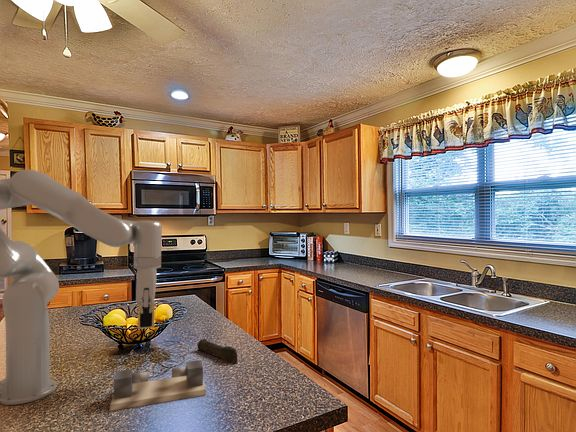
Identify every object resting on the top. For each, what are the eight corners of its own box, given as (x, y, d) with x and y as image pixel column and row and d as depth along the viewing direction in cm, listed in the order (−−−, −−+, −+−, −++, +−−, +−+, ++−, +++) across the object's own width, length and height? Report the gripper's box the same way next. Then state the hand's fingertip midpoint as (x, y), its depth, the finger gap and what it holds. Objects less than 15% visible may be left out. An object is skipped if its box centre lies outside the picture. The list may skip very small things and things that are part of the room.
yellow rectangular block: (137, 329, 101) (138, 304, 101) (138, 325, 105) (139, 301, 105) (154, 327, 103) (154, 303, 103) (154, 323, 107) (154, 300, 107)
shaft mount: (110, 410, 86) (110, 384, 86) (115, 391, 96) (115, 367, 96) (205, 394, 94) (205, 370, 94) (201, 378, 104) (201, 356, 104)
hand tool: (196, 351, 125) (196, 338, 125) (206, 348, 128) (206, 335, 128) (230, 367, 112) (230, 352, 112) (240, 363, 115) (239, 349, 115)
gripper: (135, 259, 111) (134, 317, 111) (131, 266, 95) (130, 334, 95) (161, 258, 113) (159, 315, 113) (161, 265, 98) (159, 332, 97)
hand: (146, 323), depth 104 cm, fingers closed on yellow rectangular block, 4 cm apart
